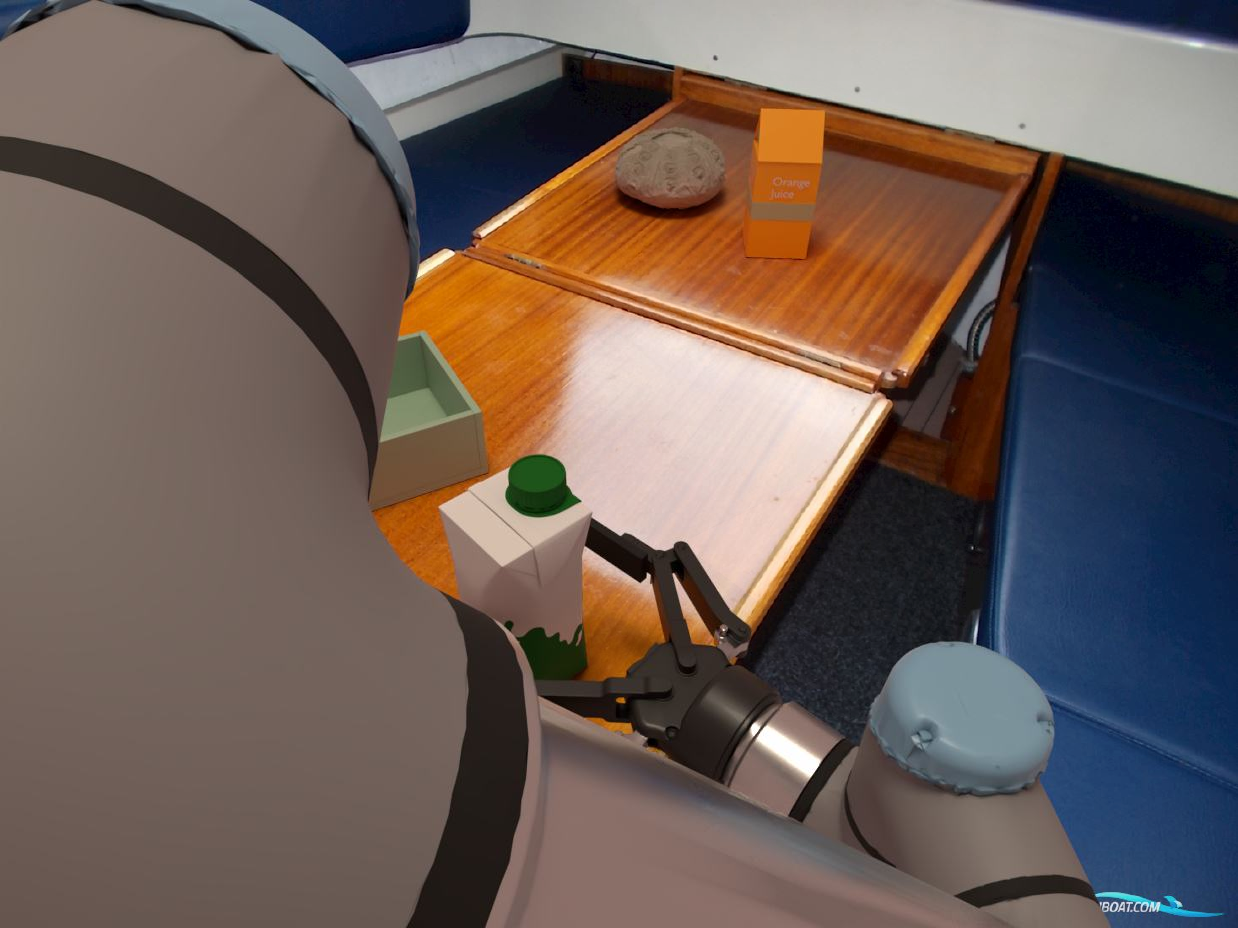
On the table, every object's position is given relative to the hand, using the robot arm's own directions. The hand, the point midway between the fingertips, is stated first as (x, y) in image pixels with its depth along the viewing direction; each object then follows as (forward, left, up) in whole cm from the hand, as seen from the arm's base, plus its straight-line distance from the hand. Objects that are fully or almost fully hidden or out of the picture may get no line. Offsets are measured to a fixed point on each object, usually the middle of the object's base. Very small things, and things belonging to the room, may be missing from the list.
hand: (518, 575), depth 64 cm
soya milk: (0, 0, -11) cm, 11 cm away
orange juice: (+63, +51, -11) cm, 82 cm away
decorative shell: (+58, +73, -11) cm, 94 cm away
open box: (-2, +32, -11) cm, 34 cm away
